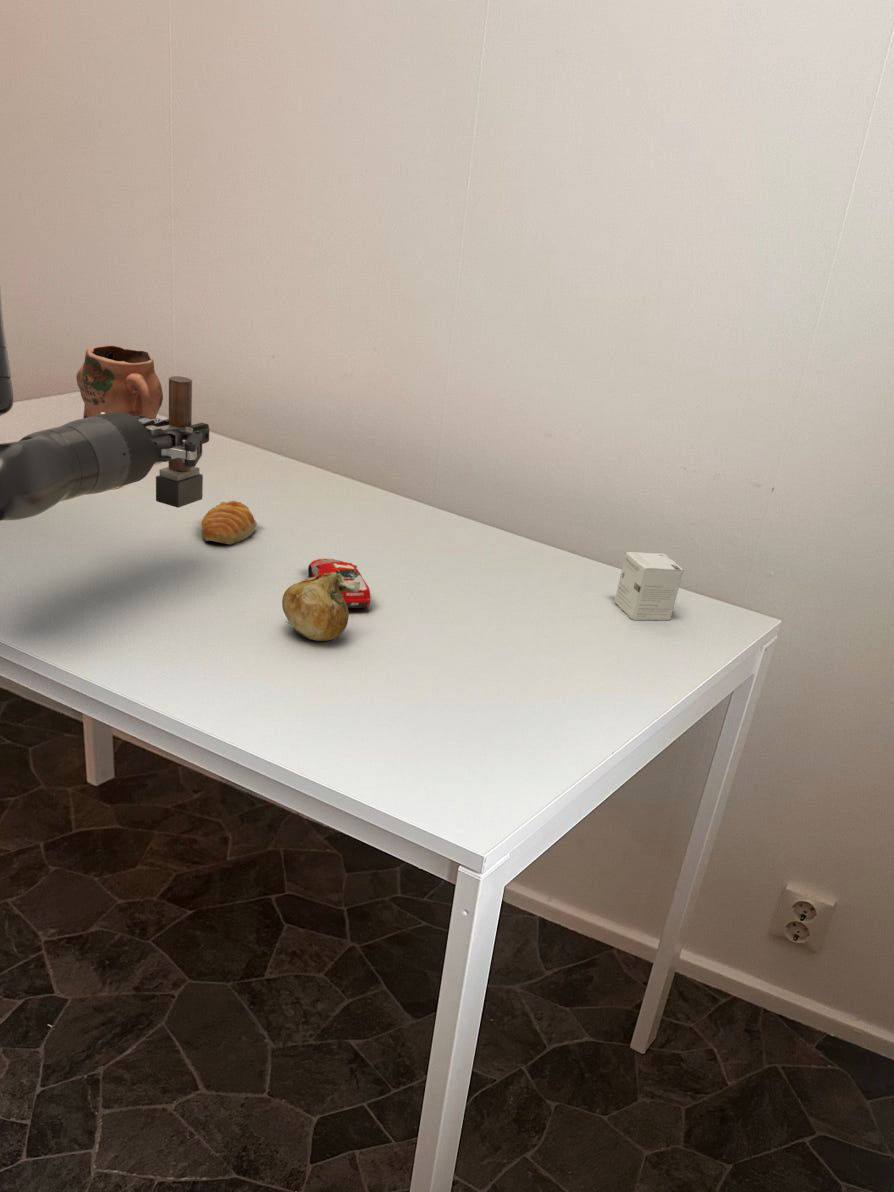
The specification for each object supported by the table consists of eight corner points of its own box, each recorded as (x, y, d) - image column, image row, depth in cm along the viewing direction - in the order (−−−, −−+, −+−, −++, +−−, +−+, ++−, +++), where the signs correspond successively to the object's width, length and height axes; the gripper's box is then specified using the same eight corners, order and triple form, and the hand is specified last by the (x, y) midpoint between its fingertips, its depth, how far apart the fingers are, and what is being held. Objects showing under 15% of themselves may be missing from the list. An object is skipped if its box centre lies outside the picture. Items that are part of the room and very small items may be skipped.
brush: (178, 508, 140) (179, 385, 133) (155, 501, 141) (155, 378, 133) (202, 499, 144) (205, 379, 137) (180, 492, 145) (181, 373, 137)
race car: (303, 574, 154) (305, 544, 151) (343, 574, 156) (346, 544, 154) (331, 614, 144) (334, 582, 141) (373, 613, 146) (377, 582, 144)
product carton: (613, 602, 162) (624, 550, 158) (651, 603, 164) (664, 552, 160) (632, 620, 157) (644, 567, 153) (672, 621, 160) (685, 568, 156)
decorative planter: (189, 461, 186) (190, 369, 179) (117, 466, 179) (116, 370, 171) (126, 425, 198) (125, 337, 190) (56, 429, 190) (52, 337, 183)
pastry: (239, 551, 157) (240, 523, 155) (189, 542, 157) (190, 514, 155) (258, 530, 165) (259, 503, 163) (210, 522, 165) (211, 495, 163)
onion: (304, 617, 142) (309, 552, 137) (360, 637, 139) (367, 572, 135) (266, 634, 136) (270, 567, 132) (324, 656, 133) (330, 589, 129)
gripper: (153, 433, 123) (246, 409, 137) (45, 402, 127) (146, 382, 141) (153, 504, 127) (243, 474, 141) (48, 472, 131) (146, 446, 145)
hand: (194, 429), depth 141 cm, fingers closed on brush, 2 cm apart
